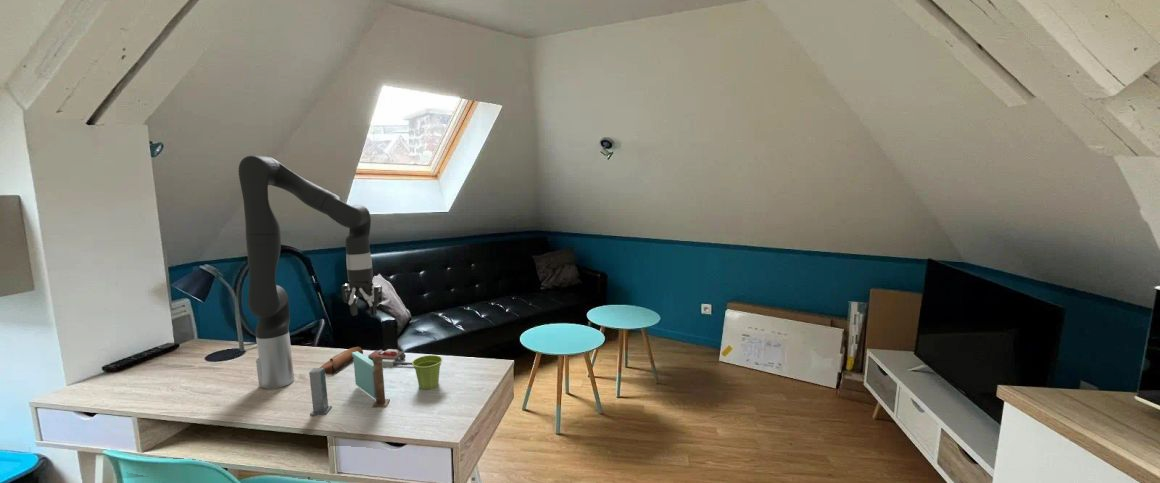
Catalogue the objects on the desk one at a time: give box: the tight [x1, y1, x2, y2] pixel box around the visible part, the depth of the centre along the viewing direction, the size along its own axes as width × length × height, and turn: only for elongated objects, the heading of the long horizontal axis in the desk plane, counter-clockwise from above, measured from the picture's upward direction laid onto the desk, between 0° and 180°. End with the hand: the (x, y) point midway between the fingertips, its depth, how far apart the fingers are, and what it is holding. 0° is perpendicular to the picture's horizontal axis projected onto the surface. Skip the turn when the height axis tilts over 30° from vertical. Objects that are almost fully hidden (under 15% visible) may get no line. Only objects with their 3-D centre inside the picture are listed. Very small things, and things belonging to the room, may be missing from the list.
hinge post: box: [372, 355, 391, 409], centre depth 144 cm, size 4×4×16 cm
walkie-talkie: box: [367, 348, 413, 368], centre depth 177 cm, size 9×4×20 cm
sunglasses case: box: [319, 346, 364, 375], centre depth 176 cm, size 18×7×7 cm, turn 174°
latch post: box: [308, 367, 333, 417], centre depth 140 cm, size 4×4×13 cm
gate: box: [352, 351, 377, 401], centre depth 151 cm, size 16×2×11 cm, turn 46°
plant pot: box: [411, 354, 443, 390], centre depth 157 cm, size 9×9×9 cm
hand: (364, 315), depth 158 cm, fingers open, 6 cm apart
